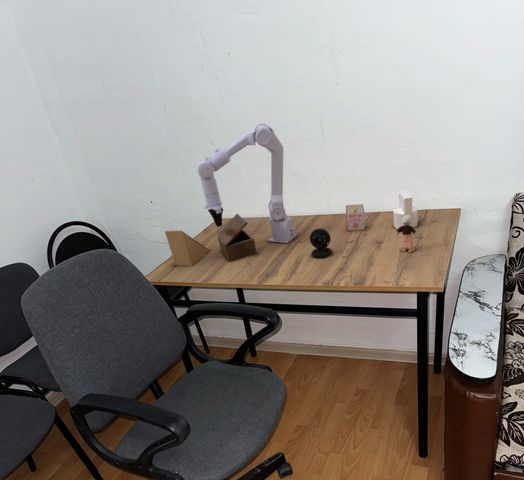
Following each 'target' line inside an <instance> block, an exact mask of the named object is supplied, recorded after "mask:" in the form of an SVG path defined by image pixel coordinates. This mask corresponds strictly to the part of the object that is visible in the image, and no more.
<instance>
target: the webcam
mask: <svg viewBox="0 0 524 480" xmlns="http://www.w3.org/2000/svg"><path fill="white" fill-rule="evenodd" d="M331 239H332V238H331V235H330V233H329V231H328V230H326V229H324V228H316V229H314V230H313V231H311V233H310V234H309V242H310V244H311V245H312V247H313V248H315V249H313V250H312V252H311V256H312V257H313V258H316V259H323V258H327V257H329V256H331V254H332V253H333V251H332V249H331V248H330V247H328V246H329V245H330V243H331Z"/></svg>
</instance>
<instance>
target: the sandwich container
mask: <svg viewBox="0 0 524 480" xmlns="http://www.w3.org/2000/svg"><path fill="white" fill-rule="evenodd" d="M164 233H165V236H166V237H165V238H166V239H167V243H168V246H169V249H170V253H171V255H172V258H173V260H174V264H175V266H183V267H184V266H186V267H192V266H193V265H195V264H196V263H197V262H199V261H200V260H201V259H202V258H203V257H204V256H205V255H207V254H208V253H209V252H210V251H211V249H209V248H208V247H206V246H205V245H203V244H202V243H201V242H199V241H197V240H196V239H194V238H193V237H191V236H190V235H189V234H187V233H186V232H184V231H183V230H178V229H177V230H174V229H172V230H164Z"/></svg>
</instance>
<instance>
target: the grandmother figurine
mask: <svg viewBox="0 0 524 480" xmlns="http://www.w3.org/2000/svg"><path fill="white" fill-rule="evenodd" d="M401 222H402V223H403V224H404V225H405V226H401V227H399V228H398V229H397V228H396V233H395V236H400V235H399V234H401V246H402V247H401V248H402V249H401V252H409V253H412V252H414V251H416V248H415V247H414V242H413V241H414V239H413V236H414V238H418V234H417V230H416V229H415V227H412V226H410V223H411V216H410V215H406V216H404V217H403V218H402V221H401Z"/></svg>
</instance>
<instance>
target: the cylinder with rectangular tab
mask: <svg viewBox="0 0 524 480" xmlns="http://www.w3.org/2000/svg"><path fill="white" fill-rule="evenodd" d="M418 212H419V209H418V207H417V206H414V205H413V196H412V195H411V194H410V193H409V191H407V190H403V191H398V207H396V208H394V209H393V227H394V228H395V229H396V230H397V229H398V228H399V227H401V226H405V225H404V224H403V223H402V222H401V221H402V218H403V217H404V216H406V215H410V216H411V223H410V226H412V227H413V228H416V227H417V226H418V223H419V222H418V221H419V218H418V217H419V213H418Z"/></svg>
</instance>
